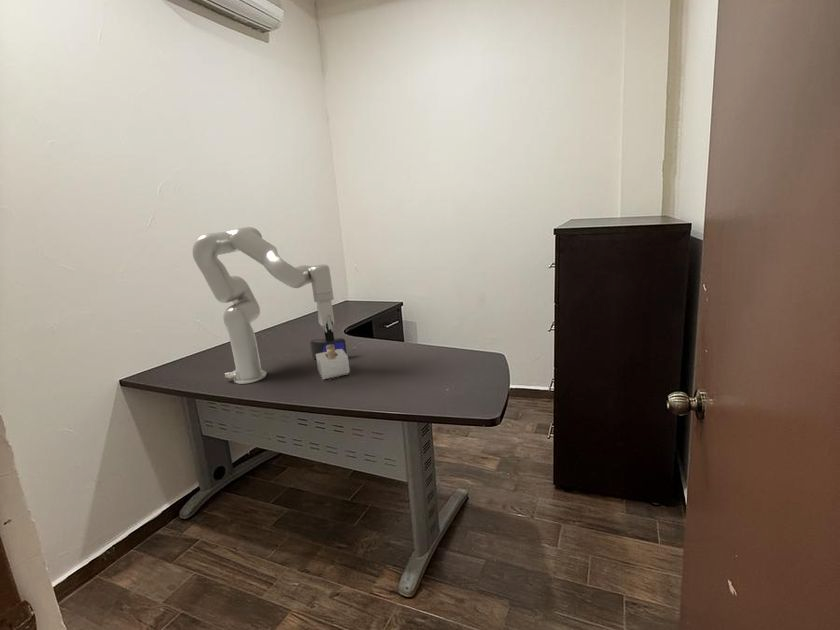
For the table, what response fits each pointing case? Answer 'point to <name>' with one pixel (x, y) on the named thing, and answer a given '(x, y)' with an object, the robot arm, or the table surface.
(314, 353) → the leaning round-cornered charcoal block
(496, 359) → the table surface
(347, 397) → the table surface
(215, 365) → the table surface
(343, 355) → the bore block
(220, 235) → the robot arm
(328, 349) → the dowel
